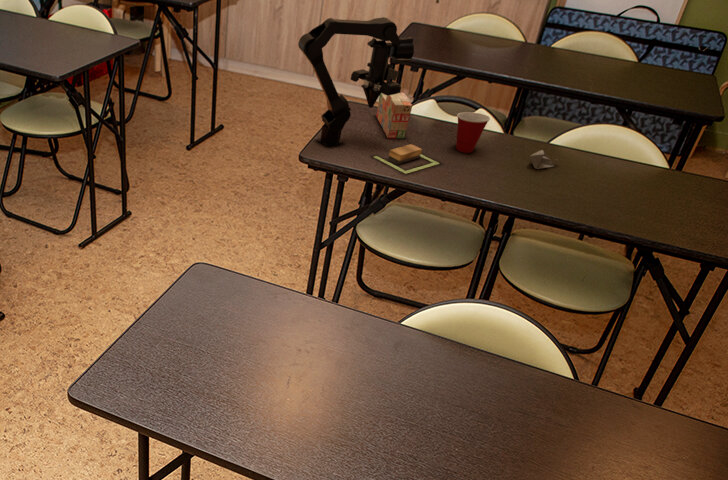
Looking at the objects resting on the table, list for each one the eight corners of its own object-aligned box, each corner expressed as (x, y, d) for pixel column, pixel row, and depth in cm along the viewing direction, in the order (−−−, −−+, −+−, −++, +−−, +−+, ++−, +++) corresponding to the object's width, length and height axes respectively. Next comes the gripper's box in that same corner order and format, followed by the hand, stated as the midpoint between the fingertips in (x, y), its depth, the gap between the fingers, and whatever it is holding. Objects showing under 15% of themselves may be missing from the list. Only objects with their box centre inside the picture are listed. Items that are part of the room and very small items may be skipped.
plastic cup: (474, 143, 245) (483, 109, 238) (484, 155, 237) (495, 121, 229) (444, 142, 245) (453, 109, 237) (453, 155, 237) (463, 121, 229)
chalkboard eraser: (398, 165, 230) (400, 155, 228) (387, 159, 233) (390, 149, 231) (419, 158, 234) (422, 149, 232) (408, 153, 237) (411, 143, 235)
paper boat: (538, 155, 236) (567, 156, 229) (533, 173, 236) (561, 175, 230) (527, 143, 227) (556, 144, 221) (521, 163, 228) (550, 164, 221)
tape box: (405, 174, 225) (405, 173, 225) (373, 157, 235) (373, 156, 235) (439, 163, 231) (439, 163, 231) (406, 147, 241) (406, 147, 241)
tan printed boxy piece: (375, 116, 264) (381, 83, 256) (391, 116, 264) (398, 83, 256) (387, 138, 247) (395, 104, 239) (405, 138, 247) (412, 104, 239)
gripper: (417, 64, 225) (407, 111, 235) (377, 49, 237) (369, 95, 247) (392, 69, 220) (383, 117, 230) (353, 54, 232) (345, 100, 242)
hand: (370, 107), depth 237 cm, fingers closed
